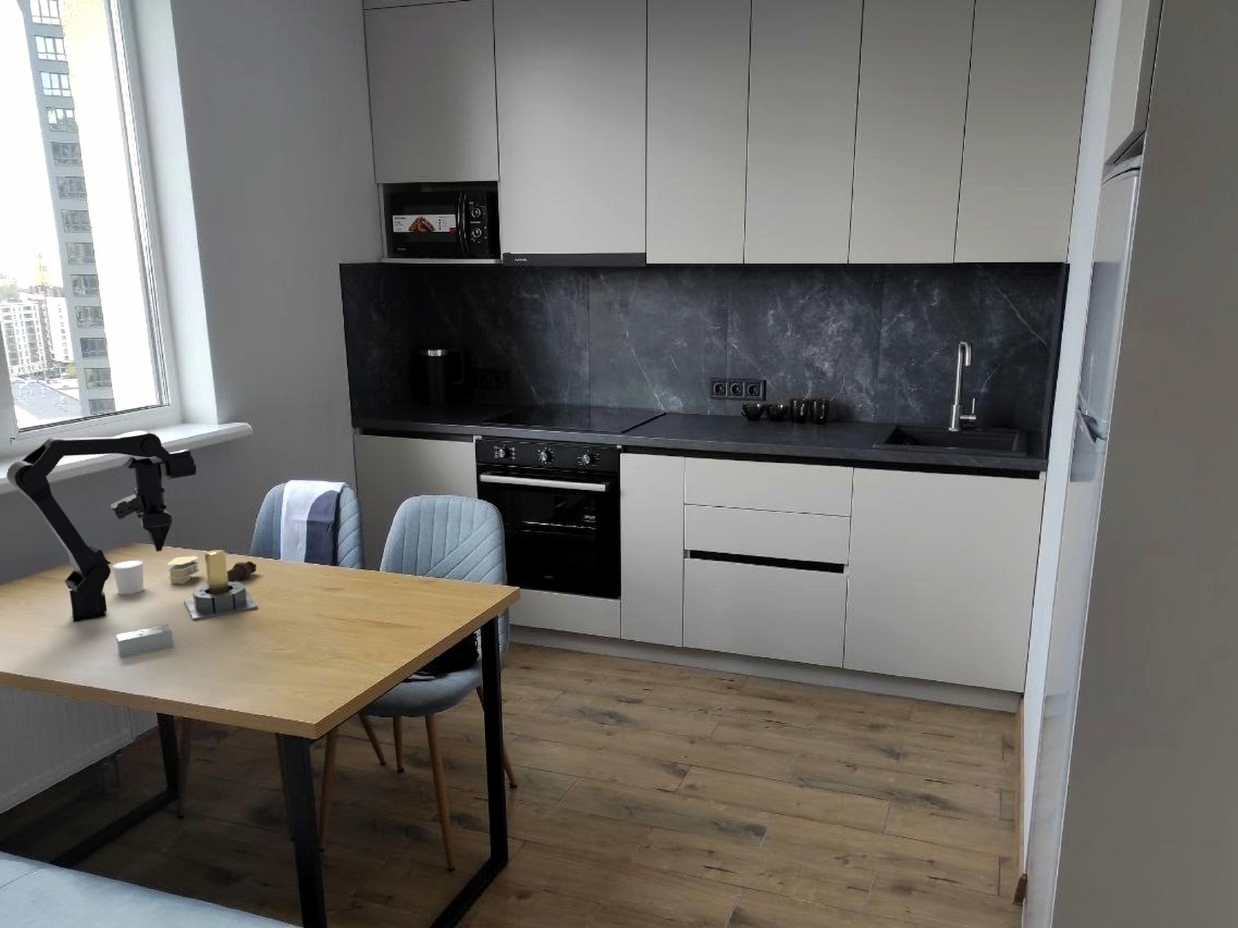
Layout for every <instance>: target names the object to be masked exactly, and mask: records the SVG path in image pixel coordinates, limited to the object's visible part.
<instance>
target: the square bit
mask: <svg viewBox="0 0 1238 928" xmlns="http://www.w3.org/2000/svg"><path fill="white" fill-rule="evenodd" d="M172 631H173V630H172V628H171V626H170V625H169V624H165V625H158V626H154V627H150V628H143V629H139V630H134V631H130V632H123V633H119V634H116V636H115V638H116V644H117V651H118V654H119V657H120V659H123V658H129V657H133V656H139V655H142V654H147V653H152V652H155V651H156V652H157V651H161V650H166V649H170V648H173V647H174V640H173V632H172Z"/></svg>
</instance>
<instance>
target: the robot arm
mask: <svg viewBox="0 0 1238 928" xmlns="http://www.w3.org/2000/svg"><path fill="white" fill-rule="evenodd" d="M111 454H112V455H114V454H116V455H117V454H121V455H127V456H129V459H127V461H125V463H123V465H122V466H123V467H124V468H126V469H133V471H134V473H133V474H134V481H135V482H134V483H135V488H134V489H133V490H134V491H133V492H134V494H131V495H129V496H126V497H124V498H121V499H119V500H118V501H115V502H113V503H112V504H111V505H110V508H111V510H112V511H113V514H114V515H115V517H116V518H117V520H122V519H124V518H126V516H129V515H132V514H133V513H135V514H136V516H137V518H138V519H140V523H141V524H140V525H141V527H142V528H143V530H145V531H146V532H148V535H149V538H150V540H151V542H152V543H153V545H154V548H155V551H156V552H162V550H163V547H164V545H165V541H166V539H167V535H168V533H169V531H170V528H171V527H172V524H173V520H172V519H173V517H172V514H171V513H170V512H169V511H167V504H166V501H165V500H166V499H165V487H164V486H163V485H164V483H163V478H167V480H169V481H174V480H179V479H185V478H186V479H187V478H192V477H193V478H194V477H195V476H196V473H197V464H196V462H195V459H194V458H193V456H192V455H191V450H189V449H181V450H176V451H172V452H171V451H170V452H169V451H168V450H167V449H166V448H165V447H164V446H163V445H162V441H161V439H160V437H159V436H158V435H157V434H155V433H151V432H149V431H145V430H134V431H130V432H125V433H121V434H118V435H113V436H96V437H95V436H94V437H93V436H90V437H64V438H63V437H61V438H60V437H49V438H48V439H46V440H45V442H43V444H41V445H40V446H39V447H37V448H36V449H34V450H33V451H31V452H30V453H29V454H27V455H26V456H25V457H24V458H23V459H22V460H21V461H17V462H14V463H13V464H11V465H10V466H9V467H8V469H7V473H6V479H8V482H9V483H10V484H11V485H13V487H14V488H15V489H17V491H18V492H20V493H21V494H22V495H23V496H24V497H25V498H27V499H28V500H29V501H30V502H31V503H32V504H33V506H34V507H35V508H36V510H37V511H38V513H39V514H40V515H41V517H42V518H43V520H45V522H46V524H47V525H48V526H49V528H50V529H51V530H52V532H53V534H54V535H55V536H56V537H57V540H59V542H60V543H61V544H62V547H63V548H64V549H65V550H66V552H67V554H68V558H69V562H70V564H71V567H72V569H73V570H72V571H71V573H70V574H69V575H68V576H67V577H66V579H65V580H64V583H65V585H66V586H67V588H68V589H69V597H70V604H71V609H72V612H71V615H72V622H74V623H76V622H77V623H78V622H83V621H87V620H88V621H89V620H92V619H98V618H104V617H106V612H107V611H108V608H107V599H106V594H105V591H103V590H104V586H105V583H106V581H107V580H108V579H109V578H110V575H111V572H112V571H111V568H110V565H112V564H111V561H109V560H108V559H107V558H106V556H105V555H104V552H103V550H102V549H101V548H99V547H97V546H95V545H94V544H91V545H90V546H88V545H87V544H86V542H85V541H84V539H83V537H82V536H81V534H80V533H79V531H77V529H76V528H75V526H74V524H73V523H72V522H71V521H70V518H68V516H67V515H66V513H65V512H64V510H63V509H62V507H61V506H60V504H59V503H58V502H57V500H56V499H55V496H54V495H53V493H52V489H51V484H50V483H49V480H48V478H47V476H48V475H49V474H51V472H53V470H54V469H55V468H56V466H57V465H58V464H59V462H60V461H61V459H62V458H65V457H68V456H69V457H70V456H71V457H72V456H90V455H91V456H92V455H93V456H95V455H111ZM135 457H140V458H139V459H138V458H135ZM153 457H154V458H157V459H155V460H152V459H151V458H153Z"/></svg>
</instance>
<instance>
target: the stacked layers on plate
mask: <svg viewBox="0 0 1238 928" xmlns="http://www.w3.org/2000/svg"><path fill="white" fill-rule="evenodd" d="M197 559H199V557H198V556H196V555H193V556H180V557H179V556H178V557H174V558H173V559H171V561H169V562H168V563H167V565H171V566H170V567H168V569H167V571H169V576H168V578H170V582H171V583H170V584H185V583H187V582H188V581H190V580H191V579H192V578H191V577H192V575H194V574H196V573H198V572H200V571H201V569H199V568H198V567H199V566H198V564H200V562H199V561H197Z"/></svg>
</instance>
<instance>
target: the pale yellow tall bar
mask: <svg viewBox="0 0 1238 928" xmlns="http://www.w3.org/2000/svg"><path fill="white" fill-rule="evenodd" d="M226 559H227V558H226V551H225V550H223V549H215V550H211V551H207V552H205V553H204V561H205V568H206V569H205V570H206V578H207V580H208V588H209V594H221V593H226V592H229V585H228V576H227V571H228V568H227V560H226Z"/></svg>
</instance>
